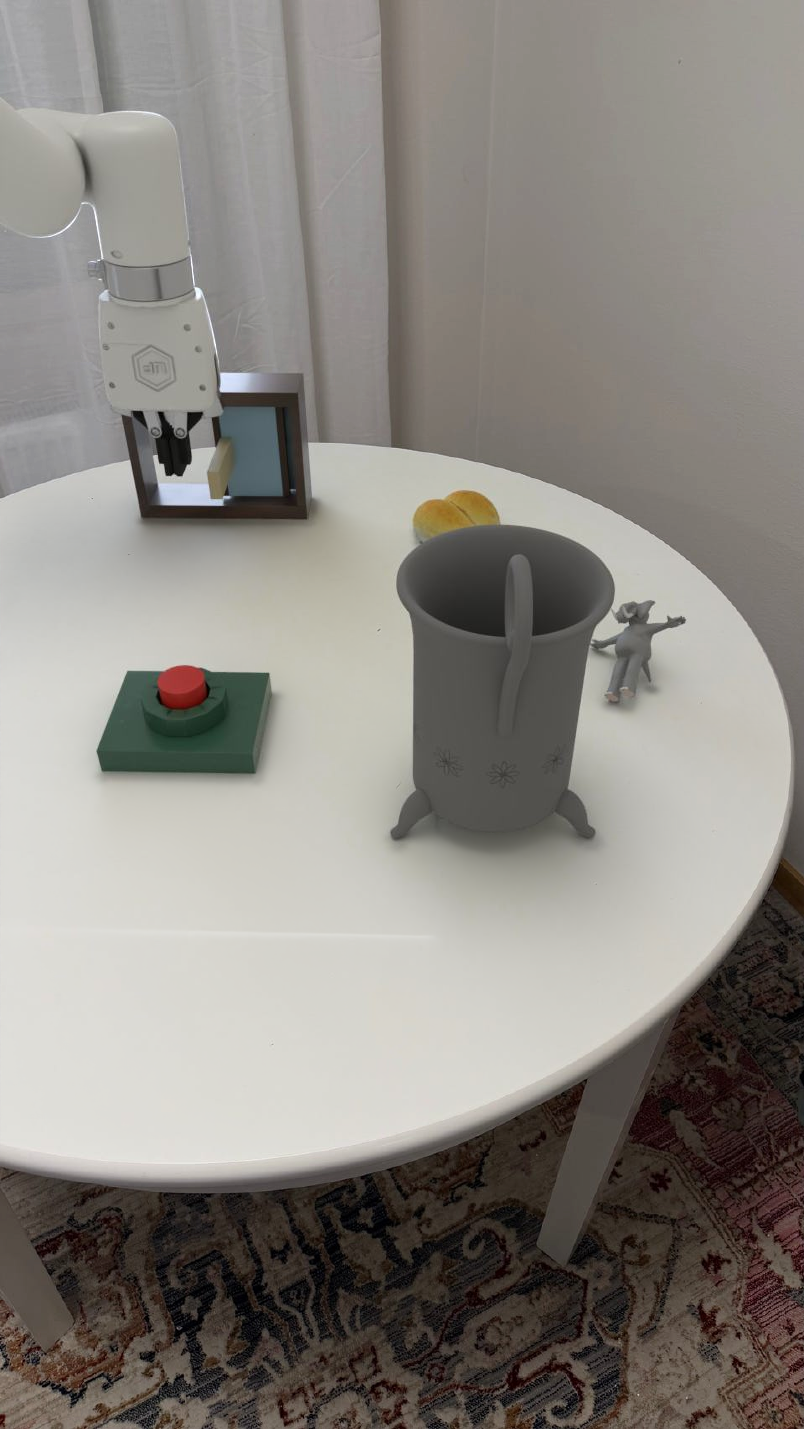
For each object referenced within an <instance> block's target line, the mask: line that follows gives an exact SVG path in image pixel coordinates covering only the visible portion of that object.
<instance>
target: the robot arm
mask: <svg viewBox="0 0 804 1429" xmlns="http://www.w3.org/2000/svg"><path fill="white" fill-rule="evenodd" d="M178 140H179V139H178V135H177V131H176V129H175V126H174V125H173V123H172V122H171V121H170V120H169V119H168V118H166V117H165V116H164V115H162V114H159V113H155V112H151V111H140V110H121V111H120V110H119V111H110V112H109V111H108V112H103V113H99V114H88V113H81V112H80V113H78V112H71V111H64V110H59V109H58V110H57V109H51V108H42V107H25V108H20V109H17V110H16V109H15V108H14V107H13V106H12V105H11V104H9V103H8V102H7V101H6V100H5V99H4V98H3V97H2V96H0V225H1V226H2V227H3V228H6V229H8V230H10V231H12V232H14V233H17V235H22V236H24V237H28V238H38V239H44V238H51V237H53V236H56V235H58V234H61V233H63V232H64V231H65V230H67V229H69V228H70V227H71V225H72V224H73V223H74V222H75V221H76V219H77V217H78V215H79V213H80V211H81V208H82V205H83V204H88V205H90V207H92V209H93V212H94V218H95V223H96V224H95V225H96V229H97V230H96V231H97V236H98V242H99V248H100V252H101V253H100V254H101V257H100V259H97V260H96V261H88V262H87V274H88V277H89V278H90V279H97V280H99V281H102V284H103V286H104V291H102V293H100V295H99V296H98V334H99V346H100V347H99V349H100V359H101V360H100V361H101V370H102V378H103V386H104V391H105V392H104V393H105V395H106V398H107V401H108V403H109V404H110V411H112V412H113V413H114V414H117V415H125V416H129V417H131V416H132V417H134V418H135V419H136V420H138V421H139V422H140V423H141V424H142V425H143V426H145V427H146V428H147V429H148V431H149V436H151V437H152V438H154V440H155V447H156V453H157V454H156V455H157V460H158V464H159V465H163V468H164V474H165V477H172V476H176V477H181V478H182V477H183V476H184V474H185V472H186V469H187V466H189V465H191V464H192V461H193V454H192V453H193V452H192V445H191V438H190V431H191V430H193V428H194V427H195V426H196V425H197V424H198V423H199V422H201V420H207V419H212V417H217V416H221V415H222V414H223V412H224V409H225V404H224V401H223V398H222V395H221V392H220V390H219V389H220V386H221V377H220V373H221V368H220V362H219V355H218V350H217V345H216V338H215V334H214V330H213V329H214V328H213V326H212V320H211V317H210V314H209V309H208V306H207V302H206V299H205V296H204V294H203V291H202V289H201V288H200V287H195V279H194V271H193V260H192V253H191V252H192V251H191V244H190V234H189V226H188V218H187V217H188V216H187V210H186V201H185V200H186V198H185V192H184V183H183V174H182V167H181V166H182V162H181V156H180V147H179V141H178ZM166 412H168V413H169V412H171V413H173V424H171V423H170V422H169V420H168V416H167V413H166Z"/></svg>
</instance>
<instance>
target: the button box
mask: <svg viewBox="0 0 804 1429" xmlns="http://www.w3.org/2000/svg"><path fill="white" fill-rule="evenodd" d="M198 668H199V669H200V670H201V671H202V672H203V674H204V678H205V684H206V690H207V696H206V699H205V700H204V701H203V702H202V703H201V704H200V705H198V706H195V707H192V708H189V709H186V710H172V709H169V708H167V707H166V706H164V705H163V703H162V701H161V697H160V692H159V688H158V678H159V676H160V675H161V674H162V673H163V672H164V671H165V670H127V671H126V673H125V676H124V678H123V681H122V683H121V686H120V688H119V691H118V694H117V697H116V698H115V702H114V704H113V706H112V709H111V712H110V714H109V717H108V720H107V722H106V725H105V727H104V730H103V732H102V735H101V738H100V741H99V742H98V745H97V748H96V752H95V753H96V755H97V759H98V762H99V765H100V769H101V772H119V773H120V772H122V773H124V772H127V773H128V772H129V773H182V774H183V773H185V774H186V773H187V774H189V773H190V774H191V773H192V774H238V775H239V774H241V775H242V774H245V775H247V774H248V775H249V774H250V775H254V774H256V773H257V772H256V771H257V768H258V762H259V757H260V753H261V748H262V742H263V738H264V733H265V729H266V728H265V727H266V724H267V719H268V713H269V708H270V703H271V698H272V693H273V691H272V682H271V674H270V672H257V671H256V672H251V671H250V672H248V671H247V672H246V671H245V672H244V671H211V670H209V669H206V668H203V667H198Z"/></svg>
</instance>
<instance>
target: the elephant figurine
mask: <svg viewBox="0 0 804 1429" xmlns="http://www.w3.org/2000/svg"><path fill="white" fill-rule="evenodd" d="M655 604H656V601H655V600H653V599H649V600H644V601H643V602H639V603H638V602H636V601H635V600H633V601H629V602H627V603H626V602H625V603H622V604H621V605H620V606H619V609H618V610H617V611H616V612H615V610H614V609H613V608H611V609H610V612H611V614H612V616H613V618H614V619H615V621H617V624H624V625H626V624H628V625H627V626H626V627H624V629H623V631H621V632H619V633H618V634H616V635H613V636H610V637H609V638H606V639H604V640H598V639H595V638H592V639H591V643H590V647H592V648H593V649H596V650H600V649H601V650H602V649H606V648H607V647H609V646H612V645H614V652H615V656H616V658H617V661H616V663H615V664H614V666H613V671H612V673H611V674H612V675H611V678H610V681H609V683H608V684H609V685H608V687H607V689H606V692H605V693H604V694H603V695H604V697H605V699H606V700H608V701H610V702H613V703H619V702H620V698H621V694H622V695H623V696H626V697H628V698H636V693H637V686H638V677H639V674H640V672H641V668H642V670H643V673H644V674H645V676H646V678H647V681H648V682H649V684H651V683H652V676H651V672H650V666H649V661H650V660H651V657H652V640H653V636H654V635H656V634H658V633H660V632H662V631H664V630H667V629H673V628H678V627H679V626H682V625H684V624H686V622H687V618H685V616H683V615H679V616H678V617H677V616H675V617H673V618H672V617H670V616H669V615H666V619H667V621H666V622H652V623H651V622H650V623H648V621H649V618H650V610H651V609H652V607H653V606H654V605H655Z"/></svg>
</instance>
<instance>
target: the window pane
mask: <svg viewBox="0 0 804 1429" xmlns="http://www.w3.org/2000/svg"><path fill="white" fill-rule="evenodd" d="M211 425H212V432H213V440H214V447H215V449H214V452H213V455H212V457H211V460H210V463H209V465H208V468H207V470H206V475H207V476H206V477H207V484H209V490H210V497H211V499H223V496H283V497H290V496H291V487H290V475H289V464H288V452H287V441H286V429H285V418H284V407H225V409H224V412H223V414H222V415H221V416H217V417H212V418H211Z"/></svg>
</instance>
